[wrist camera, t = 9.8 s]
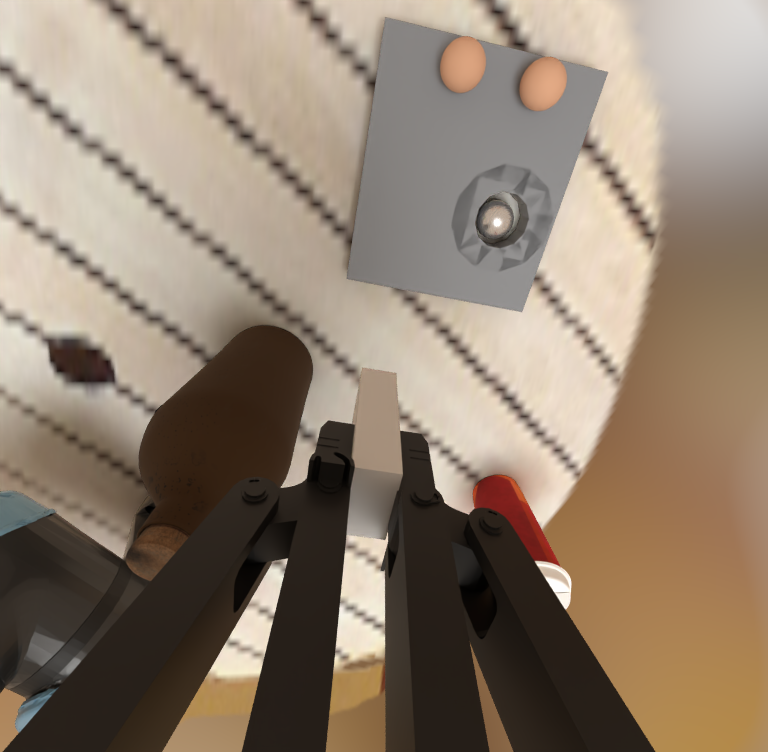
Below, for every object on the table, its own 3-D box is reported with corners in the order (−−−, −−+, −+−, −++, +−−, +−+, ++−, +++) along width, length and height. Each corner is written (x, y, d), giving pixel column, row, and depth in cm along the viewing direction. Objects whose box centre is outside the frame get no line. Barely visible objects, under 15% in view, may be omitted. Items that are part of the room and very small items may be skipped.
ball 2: (465, 232, 37) (485, 244, 35) (474, 195, 35) (496, 205, 33) (493, 232, 39) (514, 243, 36) (503, 196, 37) (526, 206, 34)
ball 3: (508, 108, 31) (520, 102, 28) (522, 57, 30) (537, 46, 27) (547, 117, 32) (563, 112, 29) (563, 68, 30) (581, 57, 27)
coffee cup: (452, 504, 53) (475, 616, 40) (483, 459, 50) (519, 565, 37) (507, 523, 55) (547, 636, 42) (541, 479, 51) (596, 588, 38)
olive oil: (312, 316, 42) (230, 486, 19) (324, 405, 46) (269, 622, 24) (210, 321, 42) (12, 494, 20) (232, 408, 47) (94, 627, 24)
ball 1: (433, 91, 31) (438, 83, 28) (443, 38, 29) (450, 24, 26) (473, 100, 31) (482, 93, 28) (485, 49, 30) (496, 36, 27)
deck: (348, 272, 40) (346, 278, 37) (385, 28, 31) (385, 17, 29) (514, 304, 41) (522, 311, 39) (592, 78, 32) (608, 72, 30)
